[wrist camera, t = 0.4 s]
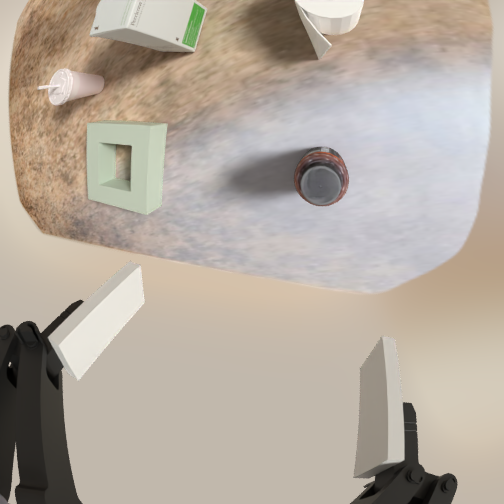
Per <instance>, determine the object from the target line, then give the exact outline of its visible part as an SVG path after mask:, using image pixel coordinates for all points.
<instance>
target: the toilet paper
mask: <svg viewBox="0 0 504 504" xmlns="http://www.w3.org/2000/svg"><path fill="white" fill-rule="evenodd" d="M294 1H295V4H296V7H297V10H298V12H299V15H300V18H301V20H302V22H303V24H304V27H305V29H306V31H307V33H308V35H309V38H310V40H311V42H312V45H313V47H314V49H315V52H316V54H317V57H318V59H319V60H320V59H321V58H322V57H323V56H324V54H325V53H326V52H327V51H328V49H329V48H330V47H331V46H332V45H331V44H330V43H329V42H328V41H327V40H326V39H325V38H324V37H323V35H322V34H327V35H341V34H344V33H347V32H349V31H350V30H352V29H353V28H354V27H355V26H356V24H357V23H358V21H359V17H360V14H361V10H362V7H363V3H364V0H294Z"/></svg>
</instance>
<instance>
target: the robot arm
mask: <svg viewBox="0 0 504 504" xmlns="http://www.w3.org/2000/svg"><path fill="white" fill-rule="evenodd" d="M144 302H145V301H144V293H143V284H142V274H141V265H140V264H137V263H134V262H131V261H129V262H128V263H127V264H126V265H125V266H124V267H122V268H121V269H120V270H119V271H118V272H117V273H115V274H114V275H113V276H112V277H111V278H110V279H109V280H107V281H106V282H105V283H104V284H103V285H102V286H101V287H100V288H99V289H97V291H95V292H94V293H93V294H92V295H91V296H90V297H89V298H88V299H87V300H86V301H82V300H79V301H77V302H74V303H72V304H71V305H70V306H69V307H68V308H67V309H66V310H65V311H64V312H62V313H61V315H60V316H58V317H57V318H56V319H55V320H54V321H53V322H52V323H51V324H50V325H49V326H48V327H47V328H46V329H45V330H44V331H43V332H42V333H40V332H39V329H38V327H37V326H36V324H35V323H33V322H32V321H26V322H23V323H21V324H20V325H19V326H18V327H17V328H16V331H15V330H14V328H13V327H12V326H11V325H4V326H2V327H0V504H9V503H8V499H9V496H10V491H11V482H12V470H13V459H14V451H15V443H16V449H17V460H18V469H19V476H20V483H19V485H18V486H16V488H15V497H16V501H17V504H82V503H81V501H80V500H79V498H78V496H77V493H76V489H75V485H74V480H73V476H72V471H71V466H70V460H69V454H68V448H67V440H66V433H65V423H64V410H63V391H62V371H61V370H62V368H63V367H64V368H65V370H66V371H67V373H68V374H69V375H71V376H72V377H73V378H75V379H76V380H78V381H79V380H80V378H81V377H82V376H83V375H84V373H85V372H86V371H87V369H88V368H89V367H90V366H91V365H92V363H93V362H94V361H95V360H96V358H97V357H98V356H99V355H100V354H101V352H102V351H103V350H104V349H105V348H106V346H107V345H108V344H109V343H110V342H111V341H112V339H113V338H114V337H115V336H116V335H117V333H118V332H119V331H120V330H121V329H122V328H123V327H124V325H125V324H126V323H127V322H128V321H129V320H130V318H131V317H132V316H133V315H134V314H135V313H136V312H137V311H138V309H139V308H140V307H141V306H142V305H143V304H144ZM9 362H11V365H10V367H9V366H8V365H9ZM416 431H417V425H416V412H415V410H414V408H413V406H412V403H405V402H404V403H403V401H402V390H401V380H400V371H399V364H398V356H397V349H396V342H395V338H391V337H386V336H382V337H381V338H380V340H379V341H378V343H377V344H376V346H375V347H374V349H373V350H372V352H371V353H370V355H369V356H368V358H367V359H366V361H365V362H364V364H363V365H362V366H361V368H360V408H359V426H358V440H357V451H356V462H355V469H354V478H370V477H373V476H375V481H373V482H371V483H368V484H366V485H365V486H364V488H366V487H367V488H366V489H365V490H364V491H363V492H362V493H361V494H360V495H359V496H358V497H357V498H356V499H355V500H354V501H353V502H351V503H350V504H451V502H452V500H453V497H454V495H455V492H456V489H457V479H456V477H455V476H454V475H452V474H449V473H447V474H444V475H442V476H440V477H439V476H435V475H432V474H429V473H427V472H425V470H424V468H423V467H422V465H420V464H419V462H418V438H417V432H416Z"/></svg>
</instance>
